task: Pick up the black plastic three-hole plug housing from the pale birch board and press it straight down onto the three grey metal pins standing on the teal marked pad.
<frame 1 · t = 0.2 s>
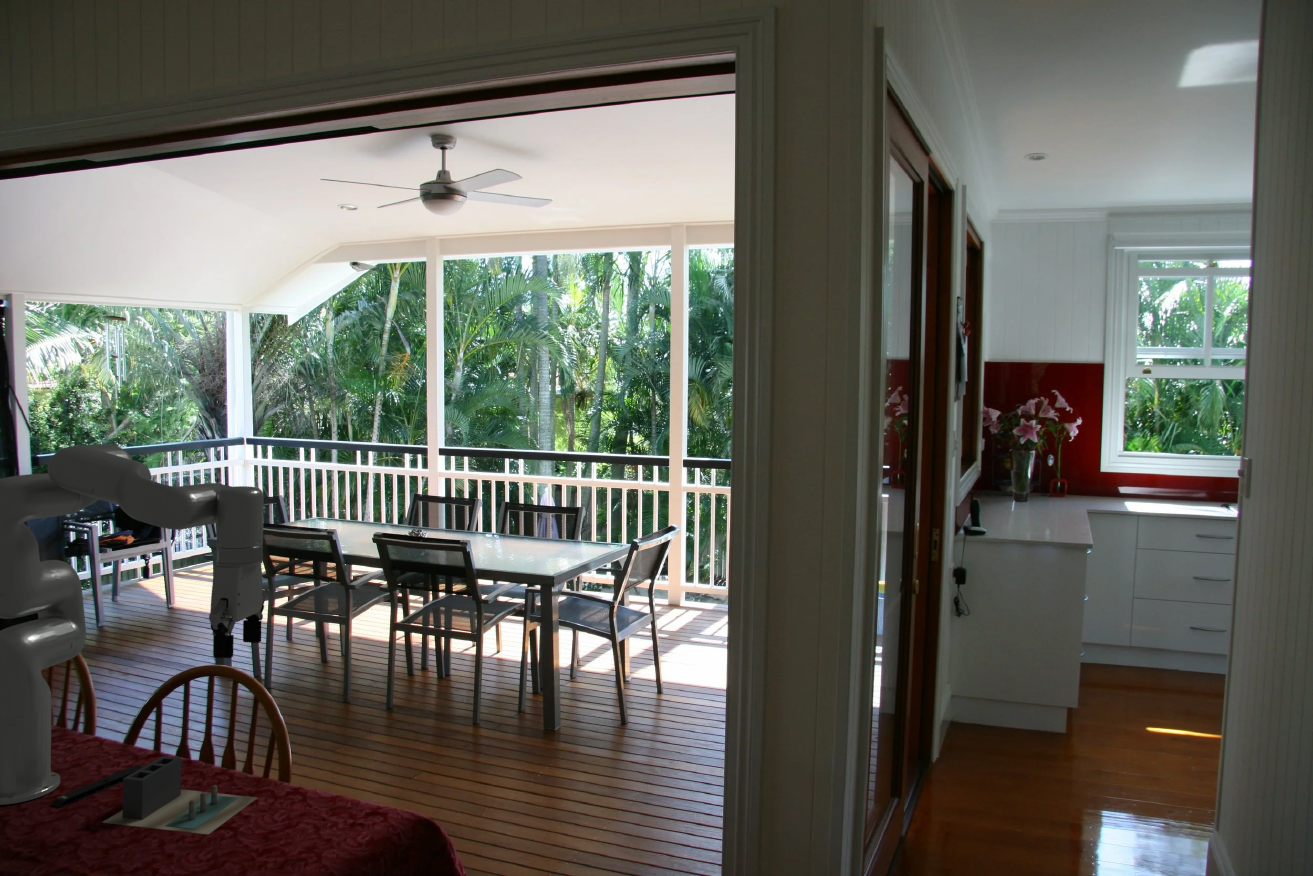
hand: (238, 649, 154), 30 cm above the table, fingers open, 9 cm apart
pin board: (182, 817, 154), on the table
plug housing: (152, 806, 154), point 1 cm above the table, touching pin board
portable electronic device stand: (103, 797, 161), on the table
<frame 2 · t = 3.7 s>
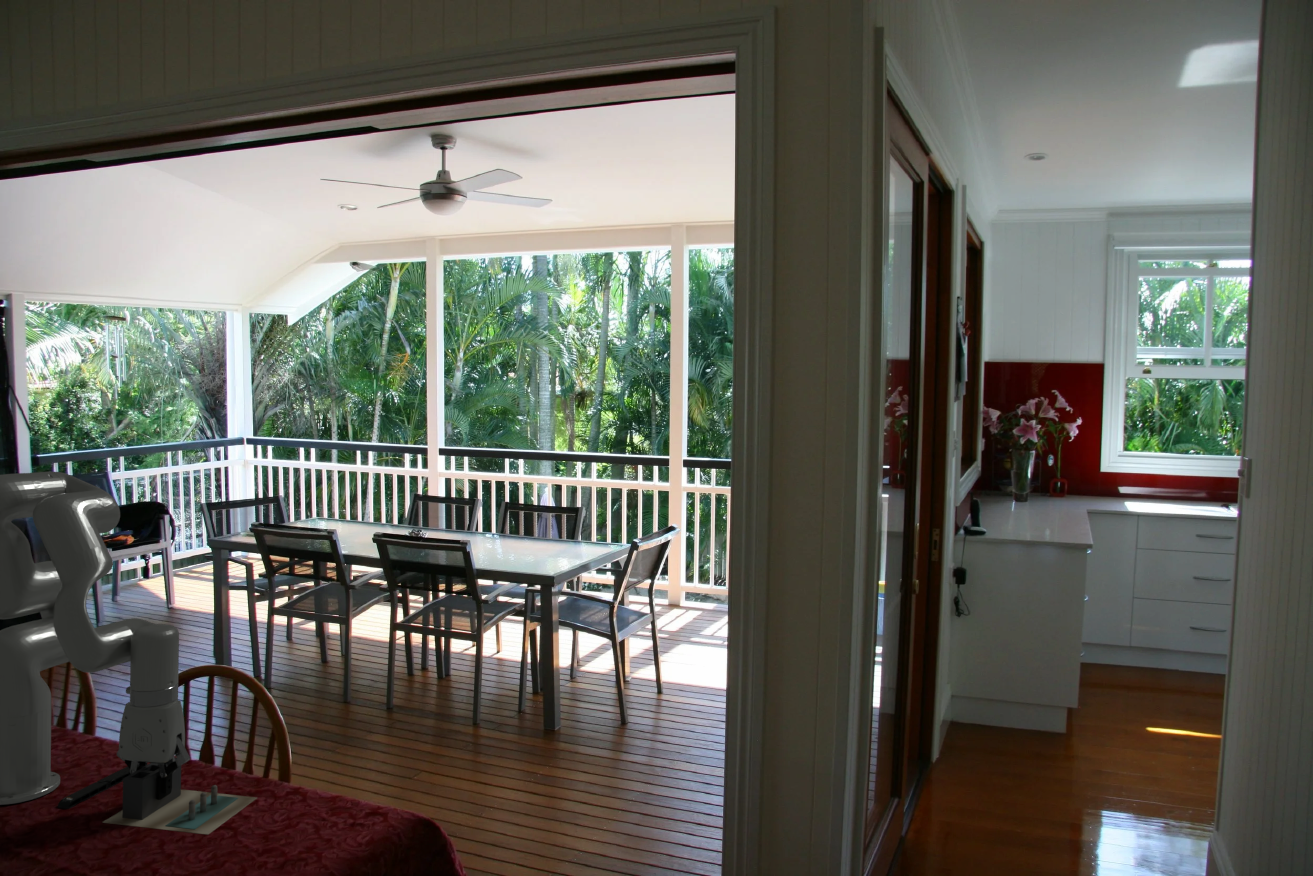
hand: (152, 794, 154), 4 cm above the table, fingers closed on plug housing, 3 cm apart
plug housing: (152, 806, 154), point 2 cm above the table, touching gripper, pin board
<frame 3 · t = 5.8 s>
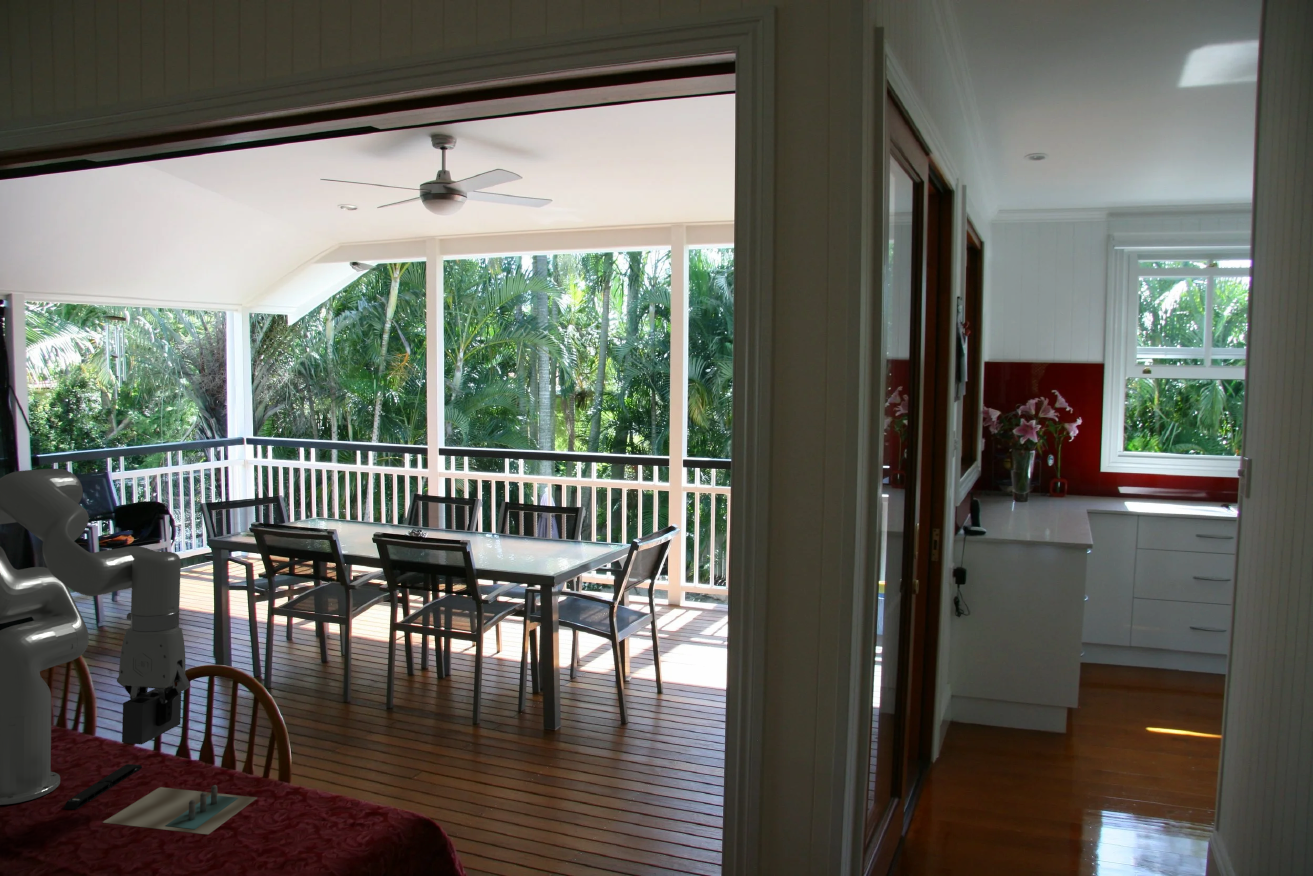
hand: (152, 721, 154), 17 cm above the table, fingers closed on plug housing, 3 cm apart
plug housing: (152, 733, 154), point 15 cm above the table, touching gripper
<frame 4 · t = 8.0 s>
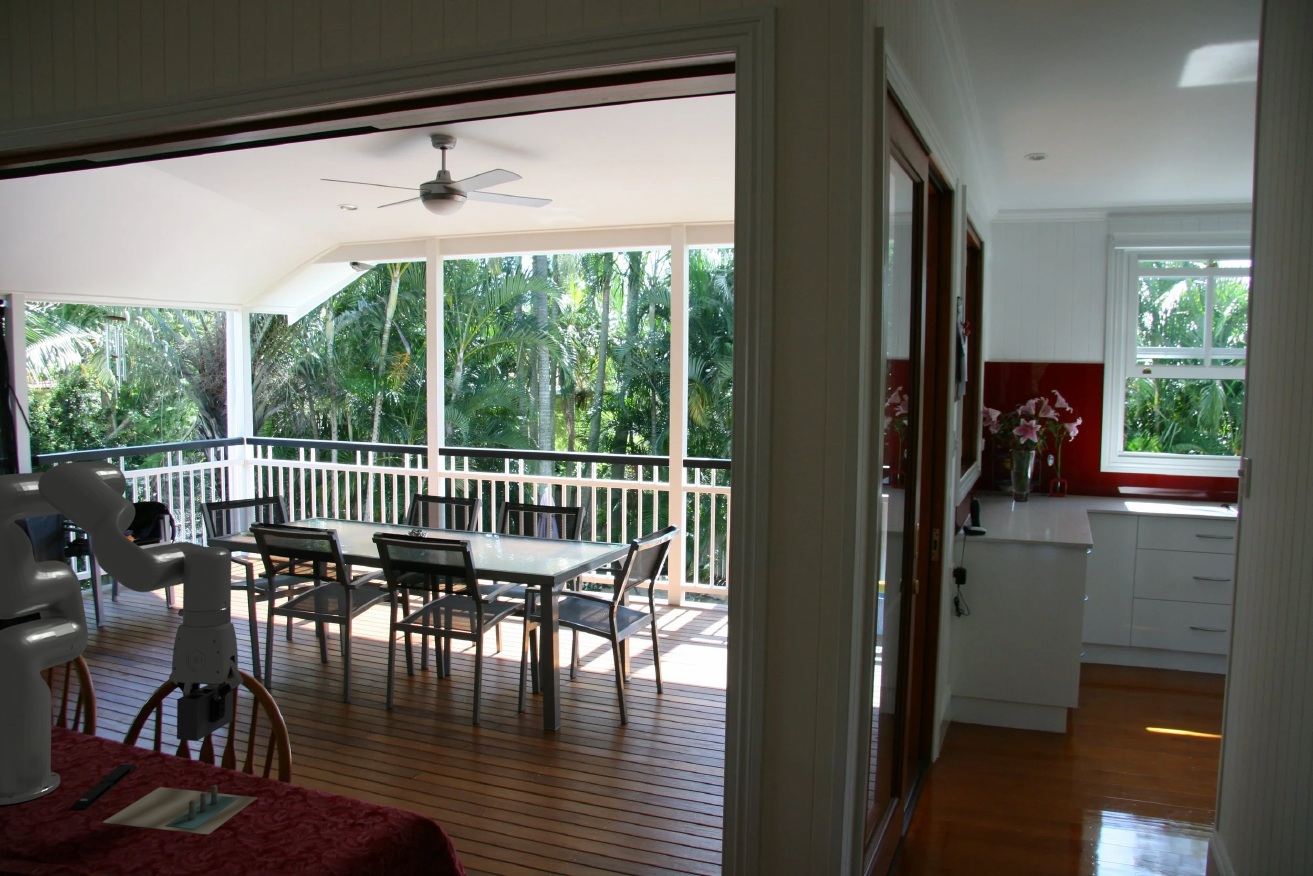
hand: (205, 717, 152), 19 cm above the table, fingers closed on plug housing, 3 cm apart
plug housing: (205, 729, 152), point 16 cm above the table, touching gripper
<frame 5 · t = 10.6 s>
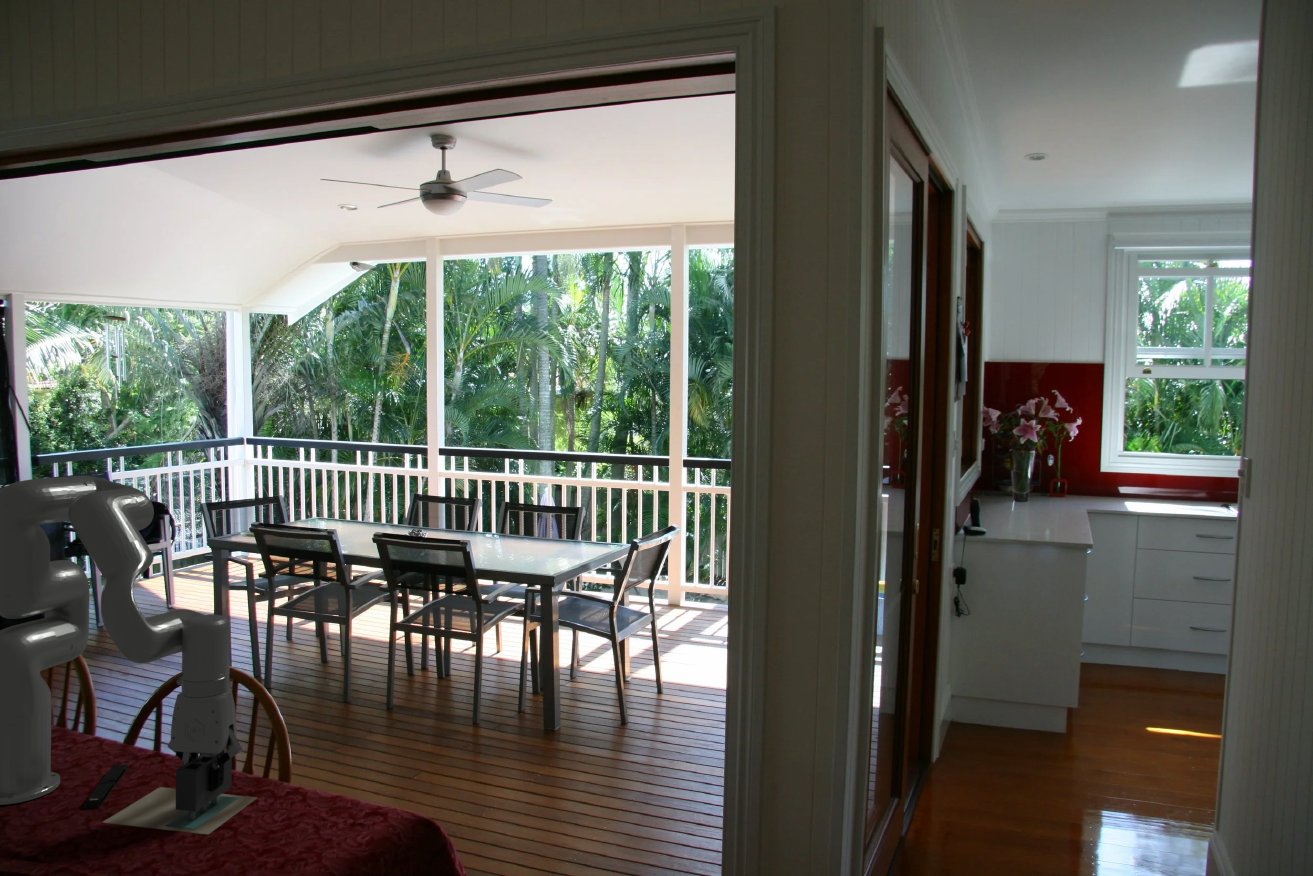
hand: (204, 786, 153), 6 cm above the table, fingers closed on plug housing, 3 cm apart
plug housing: (204, 798, 153), point 4 cm above the table, touching gripper
when the fingers open (4 cm above the table, at t = 12.3 s): plug housing stays where it is, resting on pin board.
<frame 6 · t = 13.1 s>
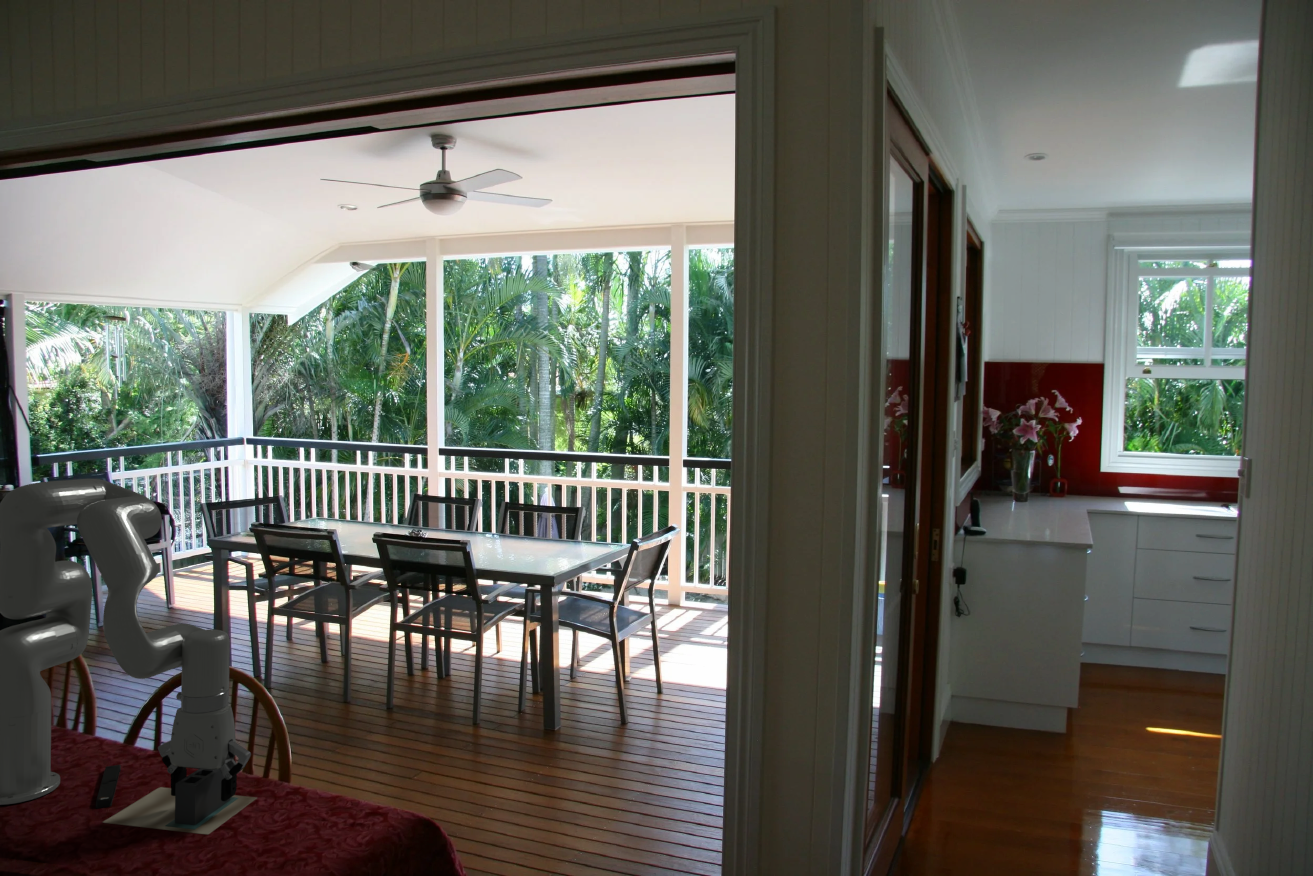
hand: (203, 795, 153), 5 cm above the table, fingers open, 9 cm apart
plug housing: (203, 811, 153), point 2 cm above the table, touching pin board
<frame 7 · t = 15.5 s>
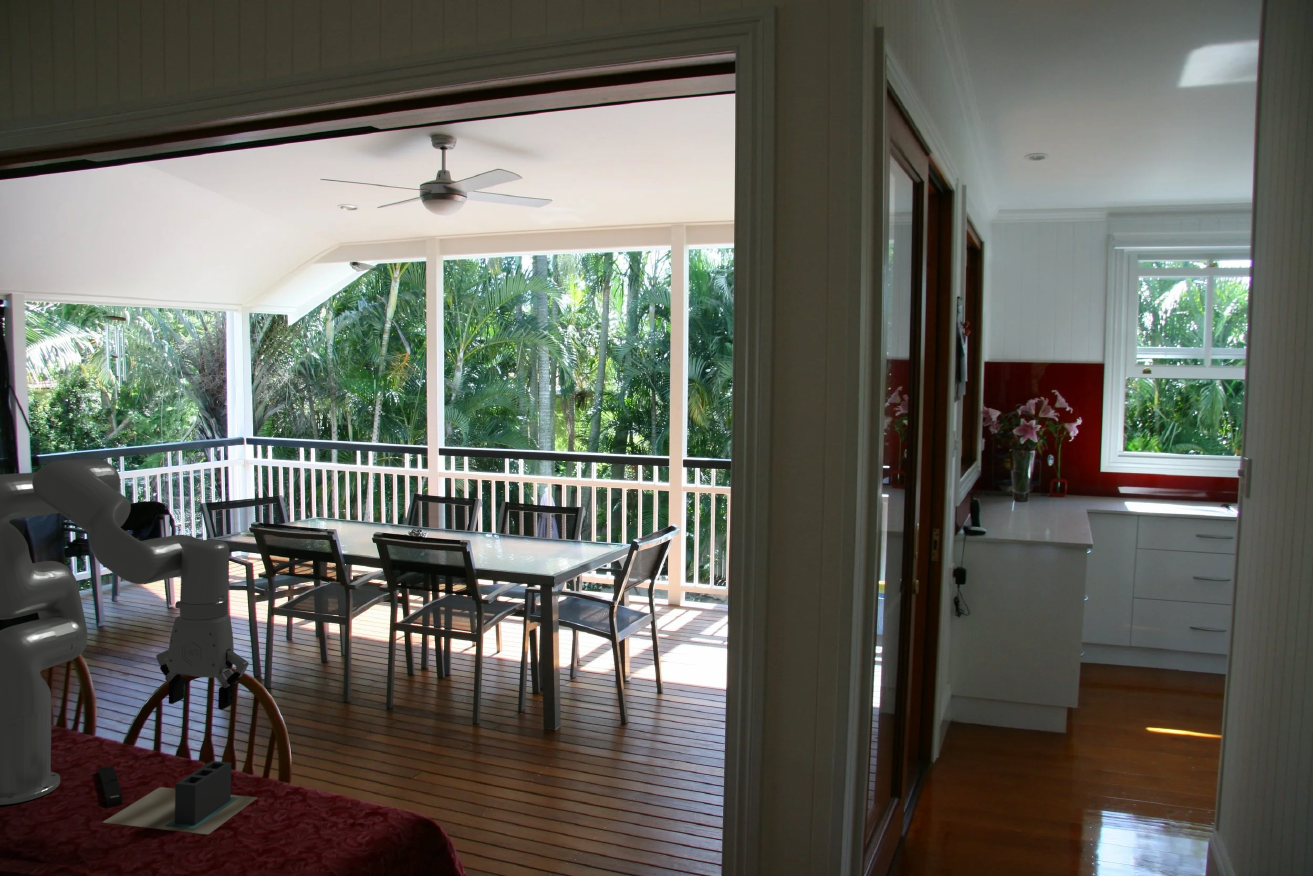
hand: (200, 704, 153), 21 cm above the table, fingers open, 9 cm apart
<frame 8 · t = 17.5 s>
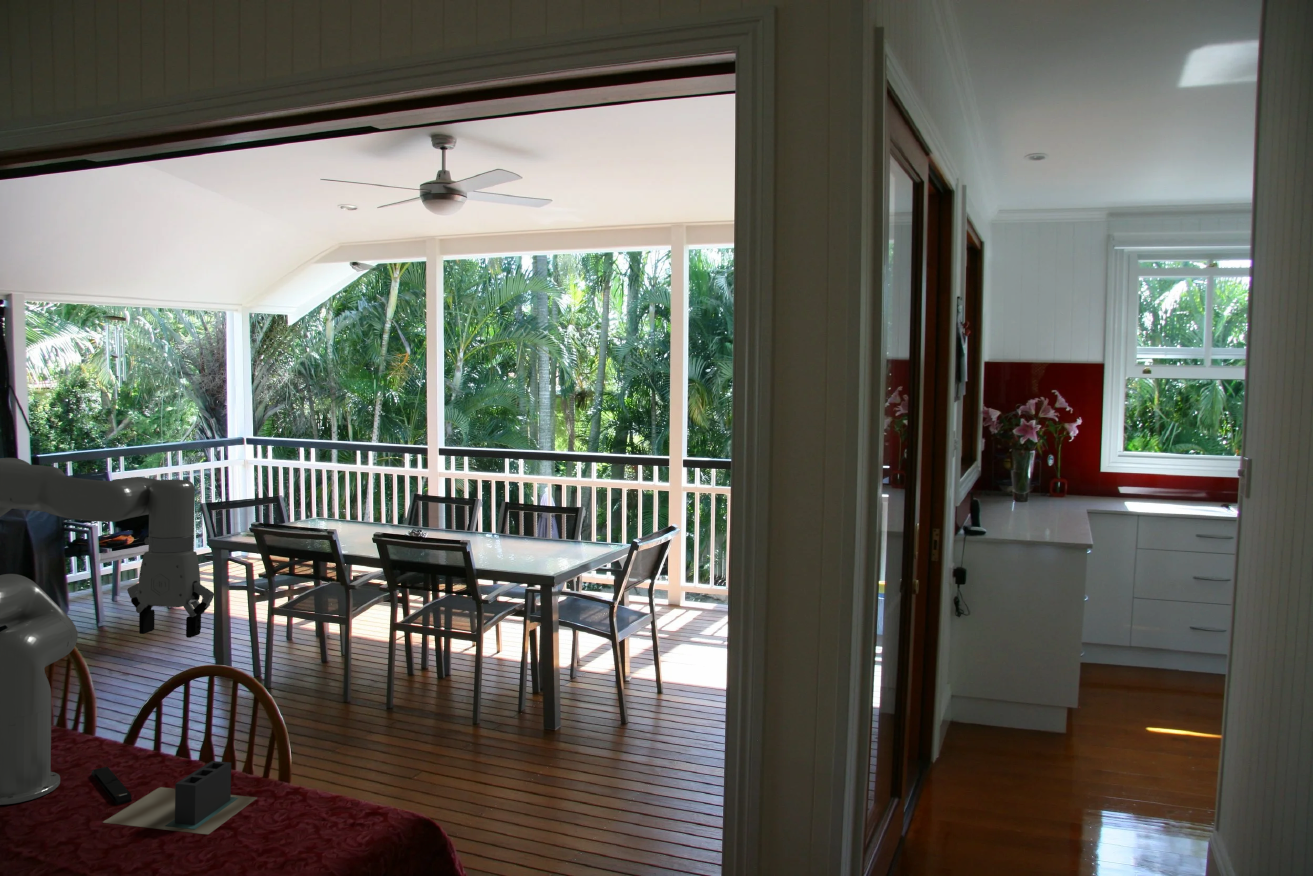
hand: (169, 634, 163), 30 cm above the table, fingers open, 9 cm apart
at the end: plug housing 0.1 cm from the target spot on the pin board, point 1.6 cm above the pin board's base; plug housing tilted 0°; the gripper is holding nothing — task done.
